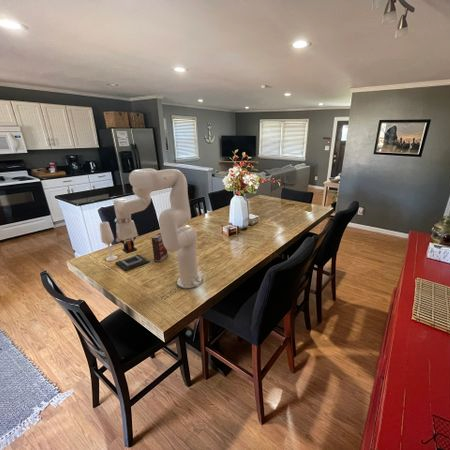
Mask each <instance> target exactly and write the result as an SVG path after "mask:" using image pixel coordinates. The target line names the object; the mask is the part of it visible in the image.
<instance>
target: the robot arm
mask: <svg viewBox="0 0 450 450" xmlns="http://www.w3.org/2000/svg"><path fill="white" fill-rule="evenodd" d="M128 181H129V184H130V185H131V187H132V192H133V194H134V195H135V196H136V197H137V198H132V199H127V198H126V197H125V198H124V197H121V198H116V199H114V200H113V208H114V213H115V216H116V217H115V219H114V220H113V221H114V223H116V224H115V232H116V238H115V242H117V243H121V244H122V245H123V249H126V250H128V245H127V243H126V241H128V240H130V241H131V246H132V248H134V247H135V243H134V242H135V240H136V239H137V238H138V237H139V236H140V235H139V233H138V231H137V227H136V224H135V221H134V220H132V215H133V214H135V213H139V212H142V211H145V210H146V209H147V208H148V207H149V206H150V204H151V202H152V196H151V193H152V192H153V191H160V190H165V189H168V188H171V190H170V194H169V202H170V207H169V208H167V209H165V210H162V211H161V212H160V214H159V217H158V224H159V225H158V226H159V230H160V233H161V236H162V241H163V244H164V247H165V248H166V249H167V252H170V253H175V252H177V253H176V255H177V257H176V258H177V266H178V275H179V278H178V279H177V281H176V284H177V286H178V287H180V288H182V289H192V288H195V287H199V286H200V284H202V276H200V275H199V271H198V270H199V269H198V258H197V257H198V256H197V240H198V234H197V231H196V229H195V227H194V226H192V225H186V224H188V223H189V222H190V221H191V219H192V214H191V206H190V200H189V193H188V188H189V187H188V181H187V177H186V176H185V174H184V173H183V172H182V171H181V170H179V169H175V168H167V169H160V170H156V169H155V168H149V167H148V168H147V167H146V168H141V169H140V168H139V169H133V170H132V171H131V172H130V173H129V176H128Z"/></svg>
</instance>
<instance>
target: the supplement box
mask: <svg viewBox="0 0 450 450" xmlns="http://www.w3.org/2000/svg"><path fill="white" fill-rule="evenodd" d="M151 244H152V255H153V260H154V262H161V263H162V262H163V260H164V259H166V258H167V257H169V255H168V250H167V249H166V248H165V247H164V244H163V241H162V236H161V232H158V233H157V234H156V235H154V236H153V237H151Z"/></svg>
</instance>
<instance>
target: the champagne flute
mask: <svg viewBox="0 0 450 450" xmlns="http://www.w3.org/2000/svg"><path fill="white" fill-rule="evenodd" d="M110 225H111V224H110V222H109V221H102V222H99V231H100V241H101V242H102V243H103V244H105V245H107V248H108V253H109V255H108V256H107V257H106V258H105V260H106V261H108V262H109V261H110V262H111V261H114V260H116V259H118V256H117V255H113V252H112V247H111V244H112V243H113V241H114V240H115V238H114V234H113V231H112V229H111V226H110Z"/></svg>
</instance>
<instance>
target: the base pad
mask: <svg viewBox="0 0 450 450" xmlns="http://www.w3.org/2000/svg"><path fill="white" fill-rule="evenodd" d="M148 263H149V260H147V259H146V258H145V257H143V256H141V255H140V254H134V255H131V256H130V257H126V258H123V259H121V260H118V261H115V264H116V265H117V266H119V267H120V268H121V269H122V270H124V271H125V272H127V271H130V270H132V269H135V268H137V267H140V266H143V265H145V264H148Z"/></svg>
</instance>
